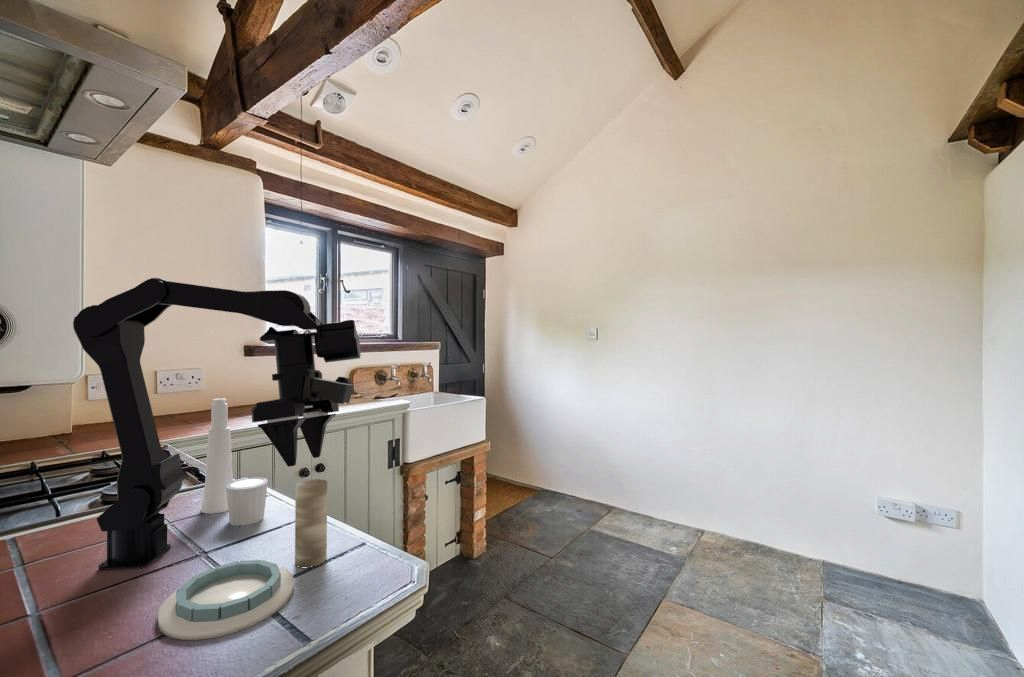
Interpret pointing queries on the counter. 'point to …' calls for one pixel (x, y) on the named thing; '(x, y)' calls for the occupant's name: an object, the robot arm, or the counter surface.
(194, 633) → the ring dish
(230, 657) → the counter surface
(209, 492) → the cosmetic bottle
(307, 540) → the birch cylinder
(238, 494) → the white cup
